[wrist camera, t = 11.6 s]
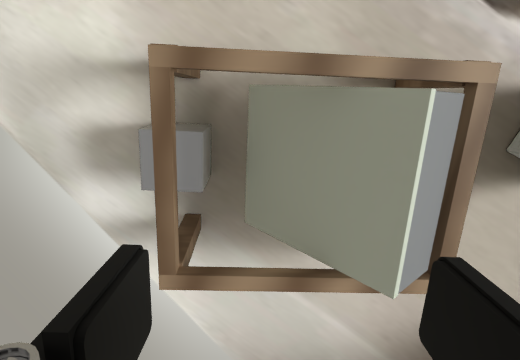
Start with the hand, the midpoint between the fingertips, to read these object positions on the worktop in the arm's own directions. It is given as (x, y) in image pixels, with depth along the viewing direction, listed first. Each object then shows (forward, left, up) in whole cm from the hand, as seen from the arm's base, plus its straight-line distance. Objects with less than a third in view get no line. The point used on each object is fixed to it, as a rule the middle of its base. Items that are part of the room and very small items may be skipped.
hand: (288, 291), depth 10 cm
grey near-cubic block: (+7, 0, -16) cm, 18 cm away
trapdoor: (-7, 0, -17) cm, 19 cm away
